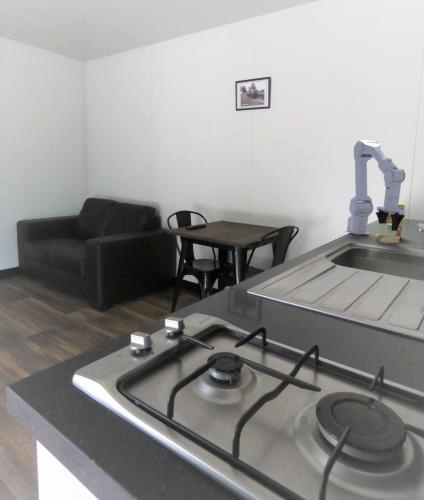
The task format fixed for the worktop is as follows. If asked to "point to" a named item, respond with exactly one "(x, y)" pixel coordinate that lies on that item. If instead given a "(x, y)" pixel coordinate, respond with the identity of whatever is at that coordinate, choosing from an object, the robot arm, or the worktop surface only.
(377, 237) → the beech block
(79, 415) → the worktop surface
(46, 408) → the worktop surface
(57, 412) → the worktop surface
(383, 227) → the sage cube
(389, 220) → the candy box
